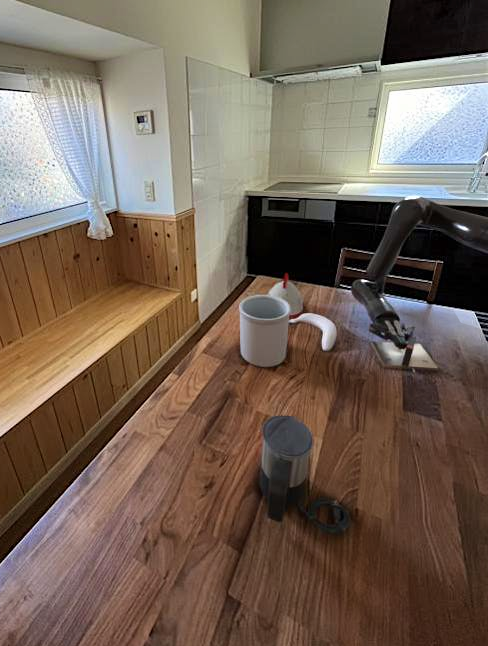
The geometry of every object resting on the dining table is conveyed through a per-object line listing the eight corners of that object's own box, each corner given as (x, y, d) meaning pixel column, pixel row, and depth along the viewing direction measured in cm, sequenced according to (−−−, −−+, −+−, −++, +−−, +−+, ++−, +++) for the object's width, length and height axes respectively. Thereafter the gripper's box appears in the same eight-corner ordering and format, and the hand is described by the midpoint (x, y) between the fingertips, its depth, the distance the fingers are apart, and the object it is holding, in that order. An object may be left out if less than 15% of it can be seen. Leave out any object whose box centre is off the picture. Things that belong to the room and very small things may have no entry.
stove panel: (418, 349, 104) (420, 343, 103) (441, 380, 92) (443, 374, 91) (370, 346, 107) (371, 340, 106) (385, 376, 94) (387, 370, 93)
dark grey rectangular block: (404, 351, 100) (409, 334, 98) (411, 353, 99) (416, 336, 97) (401, 364, 95) (406, 347, 93) (408, 367, 94) (413, 349, 92)
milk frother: (256, 463, 73) (259, 413, 66) (332, 468, 71) (342, 417, 65) (262, 537, 60) (267, 484, 54) (355, 546, 58) (371, 491, 52)
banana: (341, 354, 104) (292, 351, 106) (329, 323, 121) (287, 320, 124) (343, 341, 102) (293, 338, 104) (330, 311, 119) (288, 309, 122)
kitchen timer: (261, 315, 126) (263, 279, 120) (268, 298, 137) (270, 264, 131) (300, 322, 121) (304, 285, 115) (304, 303, 132) (308, 269, 126)
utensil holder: (228, 355, 106) (228, 307, 99) (256, 334, 115) (258, 289, 108) (268, 377, 96) (271, 326, 89) (295, 353, 105) (300, 304, 98)
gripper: (362, 303, 109) (379, 334, 94) (406, 305, 107) (432, 337, 91) (358, 322, 112) (374, 355, 97) (401, 324, 110) (425, 359, 94)
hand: (402, 346), depth 94 cm, fingers closed
